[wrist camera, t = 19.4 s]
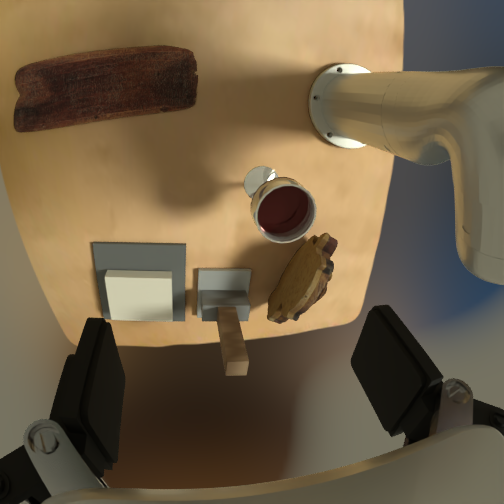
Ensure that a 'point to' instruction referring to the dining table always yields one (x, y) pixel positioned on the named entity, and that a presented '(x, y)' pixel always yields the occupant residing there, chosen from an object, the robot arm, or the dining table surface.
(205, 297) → the brown grey t-shaped piece
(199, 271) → the pad
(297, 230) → the wineglass
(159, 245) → the rubber mat
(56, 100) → the wooden tablet
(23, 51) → the dining table surface
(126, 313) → the tile
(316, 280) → the wooden carving
